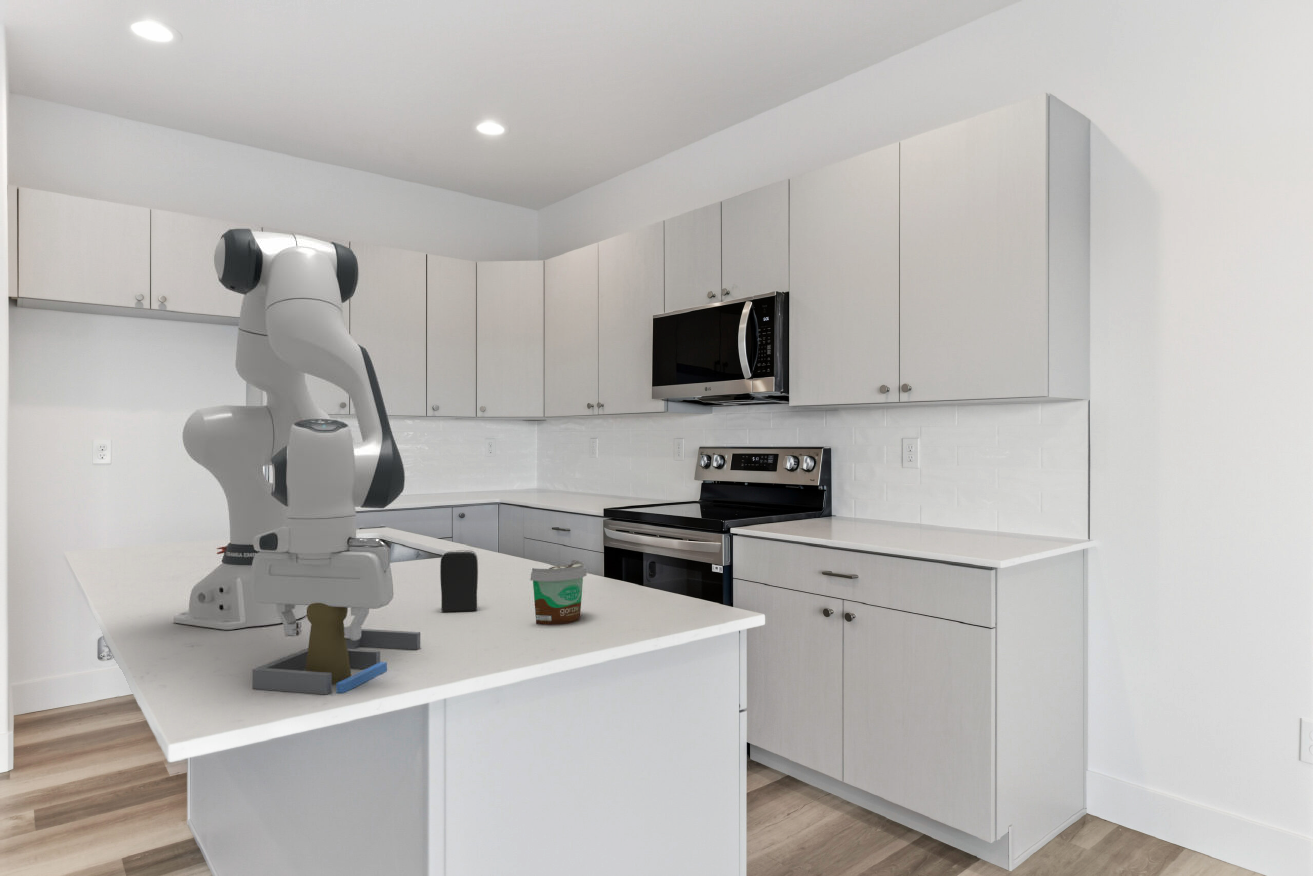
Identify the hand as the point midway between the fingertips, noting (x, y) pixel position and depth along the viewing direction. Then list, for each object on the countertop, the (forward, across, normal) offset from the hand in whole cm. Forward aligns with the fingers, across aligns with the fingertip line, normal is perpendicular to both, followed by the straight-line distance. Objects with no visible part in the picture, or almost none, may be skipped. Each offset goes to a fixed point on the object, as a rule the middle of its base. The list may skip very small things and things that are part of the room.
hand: (322, 637), depth 109 cm
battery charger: (+6, +2, -44) cm, 44 cm away
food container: (+6, -21, -40) cm, 45 cm away
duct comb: (+6, 0, -6) cm, 8 cm away
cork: (+6, -1, 0) cm, 6 cm away
